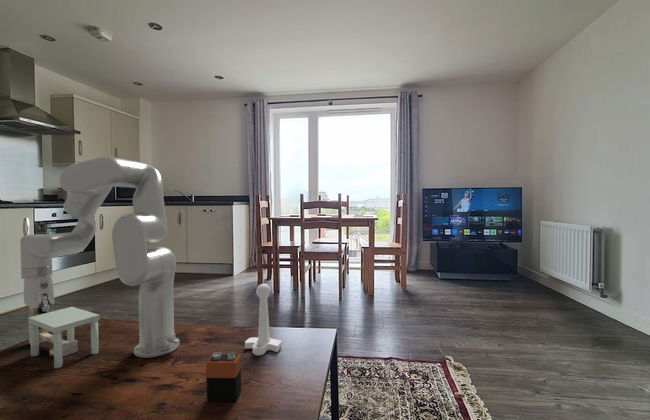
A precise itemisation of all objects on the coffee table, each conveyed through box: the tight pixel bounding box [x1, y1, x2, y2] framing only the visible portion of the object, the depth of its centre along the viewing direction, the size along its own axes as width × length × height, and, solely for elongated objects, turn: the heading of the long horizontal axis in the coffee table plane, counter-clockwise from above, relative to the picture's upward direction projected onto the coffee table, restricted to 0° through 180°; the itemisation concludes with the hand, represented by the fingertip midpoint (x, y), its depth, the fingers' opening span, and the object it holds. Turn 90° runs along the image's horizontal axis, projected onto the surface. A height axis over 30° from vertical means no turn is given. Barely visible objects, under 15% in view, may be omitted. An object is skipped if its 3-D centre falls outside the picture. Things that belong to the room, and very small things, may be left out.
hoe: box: [27, 300, 79, 357], centre depth 98 cm, size 21×5×14 cm, turn 62°
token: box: [49, 346, 54, 357], centre depth 95 cm, size 5×5×2 cm
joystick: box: [244, 283, 283, 356], centre depth 94 cm, size 11×8×20 cm
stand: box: [27, 306, 101, 369], centre depth 93 cm, size 17×11×12 cm, turn 62°
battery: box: [205, 351, 242, 403], centre depth 71 cm, size 4×7×10 cm, turn 88°
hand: (38, 326), depth 102 cm, fingers closed on hoe, 3 cm apart
